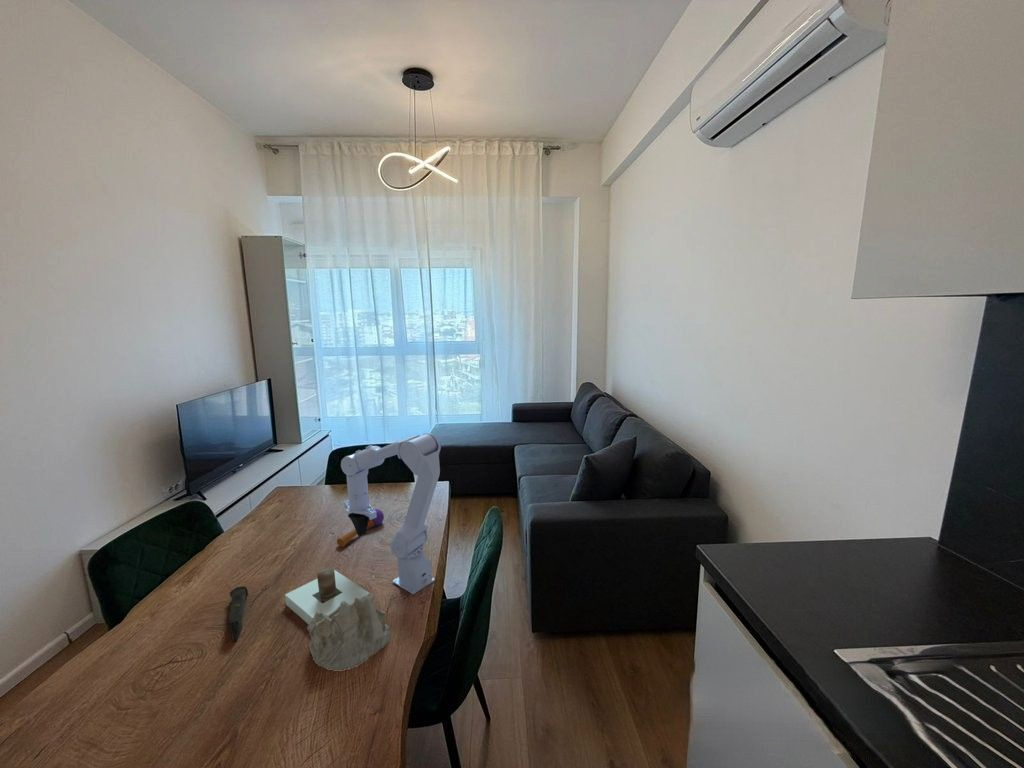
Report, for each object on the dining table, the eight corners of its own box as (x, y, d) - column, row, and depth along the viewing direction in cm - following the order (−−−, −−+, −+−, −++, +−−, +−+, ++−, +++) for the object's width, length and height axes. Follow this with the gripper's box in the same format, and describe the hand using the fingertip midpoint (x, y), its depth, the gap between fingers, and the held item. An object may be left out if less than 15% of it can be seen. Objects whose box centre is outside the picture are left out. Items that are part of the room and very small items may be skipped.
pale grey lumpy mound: (399, 639, 100) (390, 581, 98) (331, 686, 89) (319, 621, 86) (367, 613, 111) (358, 560, 109) (302, 652, 99) (291, 593, 97)
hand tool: (231, 601, 116) (229, 586, 116) (248, 596, 118) (246, 581, 117) (221, 648, 100) (218, 630, 99) (241, 641, 101) (238, 624, 101)
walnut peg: (340, 602, 114) (337, 571, 113) (326, 611, 111) (323, 579, 110) (331, 596, 117) (328, 566, 115) (317, 605, 113) (313, 574, 112)
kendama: (331, 534, 143) (372, 506, 161) (336, 550, 144) (377, 520, 162) (344, 535, 141) (384, 506, 159) (349, 551, 142) (388, 520, 159)
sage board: (370, 603, 114) (369, 593, 113) (319, 634, 103) (318, 623, 102) (335, 579, 125) (334, 569, 124) (286, 604, 114) (284, 594, 113)
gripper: (333, 491, 129) (337, 533, 131) (359, 503, 120) (363, 547, 122) (354, 483, 134) (357, 524, 136) (381, 494, 125) (384, 537, 127)
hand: (361, 534), depth 129 cm, fingers closed
